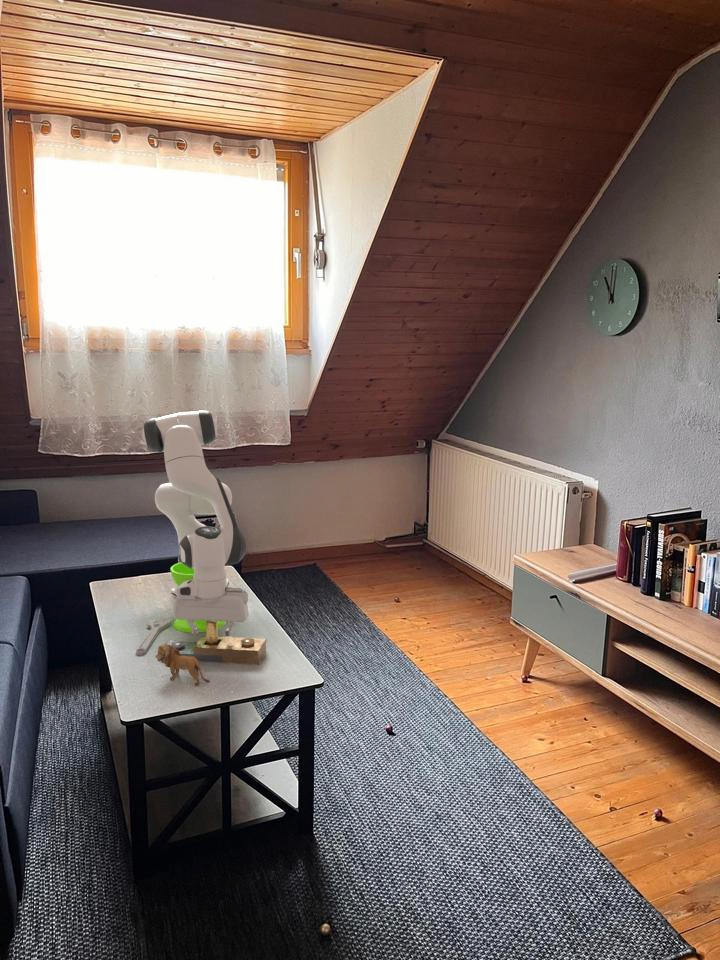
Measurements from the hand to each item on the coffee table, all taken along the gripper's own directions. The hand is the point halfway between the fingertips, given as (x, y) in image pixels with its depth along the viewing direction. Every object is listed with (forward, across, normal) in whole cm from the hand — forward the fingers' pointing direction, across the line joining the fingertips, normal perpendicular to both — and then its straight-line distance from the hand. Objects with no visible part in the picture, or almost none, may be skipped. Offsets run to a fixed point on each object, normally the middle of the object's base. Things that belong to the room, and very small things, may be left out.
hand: (212, 634), depth 206 cm
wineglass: (+6, +12, -23) cm, 27 cm away
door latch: (+6, 0, 0) cm, 6 cm away
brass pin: (+6, 0, 0) cm, 6 cm away
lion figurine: (+6, +3, +16) cm, 17 cm away
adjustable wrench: (+7, +23, -10) cm, 26 cm away
